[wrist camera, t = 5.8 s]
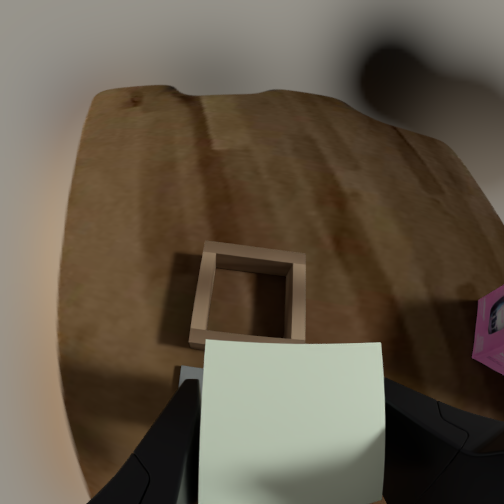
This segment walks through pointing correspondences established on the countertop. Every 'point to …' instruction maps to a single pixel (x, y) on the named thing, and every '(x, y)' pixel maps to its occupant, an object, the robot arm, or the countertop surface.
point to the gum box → (490, 331)
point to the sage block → (292, 423)
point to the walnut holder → (257, 263)
